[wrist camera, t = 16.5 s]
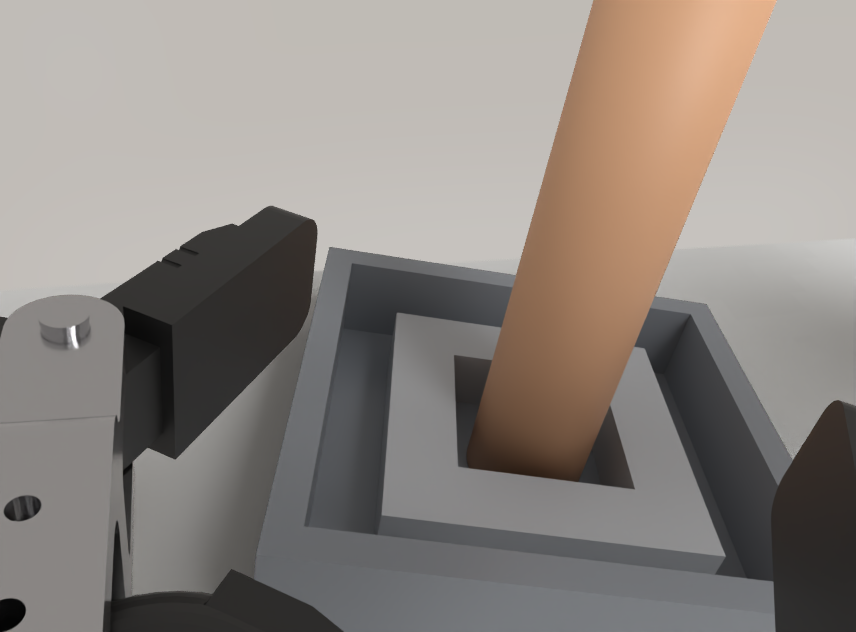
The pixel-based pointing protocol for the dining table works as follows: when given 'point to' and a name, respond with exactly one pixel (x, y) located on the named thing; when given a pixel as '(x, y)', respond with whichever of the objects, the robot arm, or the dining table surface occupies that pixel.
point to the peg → (608, 221)
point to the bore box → (511, 493)
